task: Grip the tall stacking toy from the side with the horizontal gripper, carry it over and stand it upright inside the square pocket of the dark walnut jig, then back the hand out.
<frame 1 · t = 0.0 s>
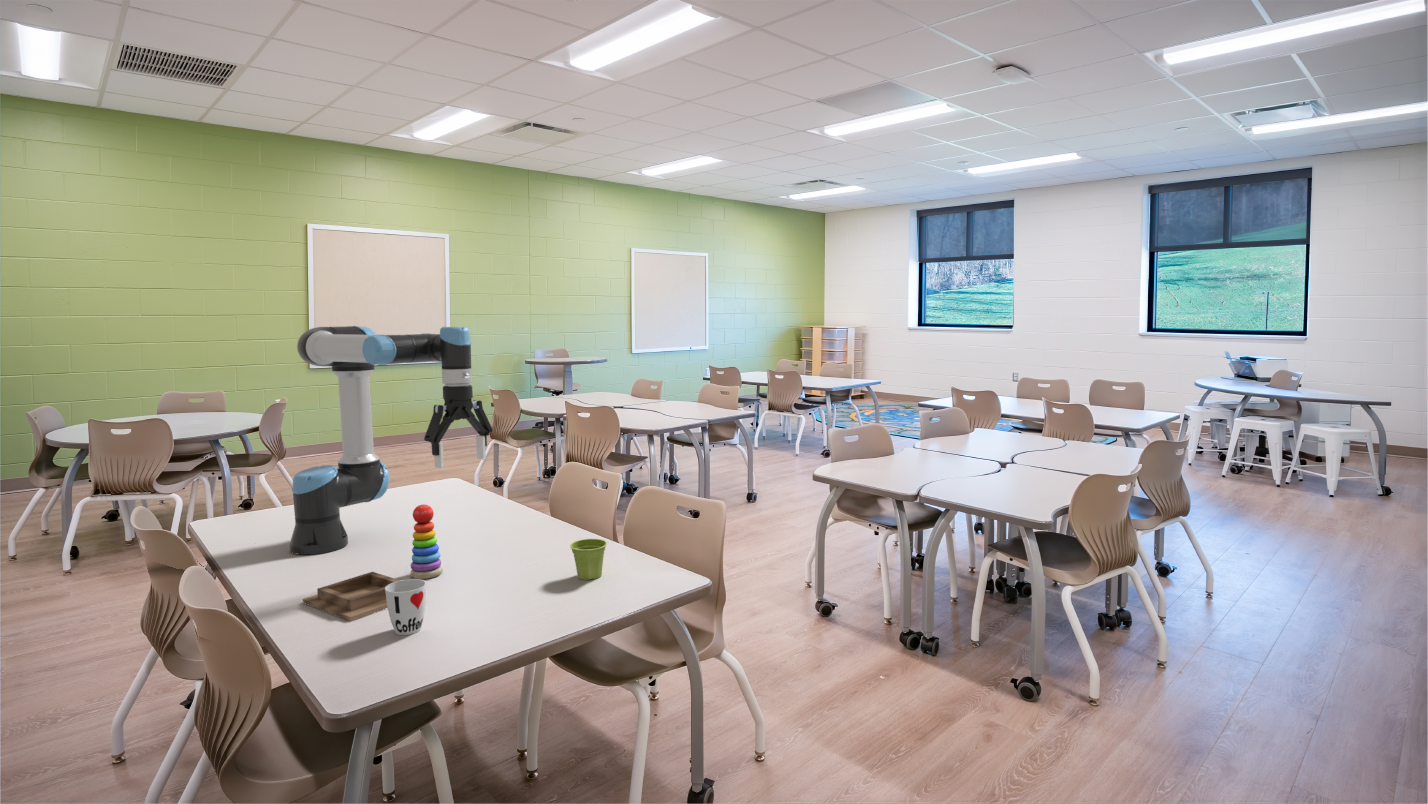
hand: (461, 463, 200), 28 cm above the table, tool pointing down, fingers open, 13 cm apart
stacking toy: (427, 575, 194), on the table
cup: (408, 631, 160), on the table
plant pot: (589, 577, 192), on the table
walnut jig: (363, 599, 177), on the table
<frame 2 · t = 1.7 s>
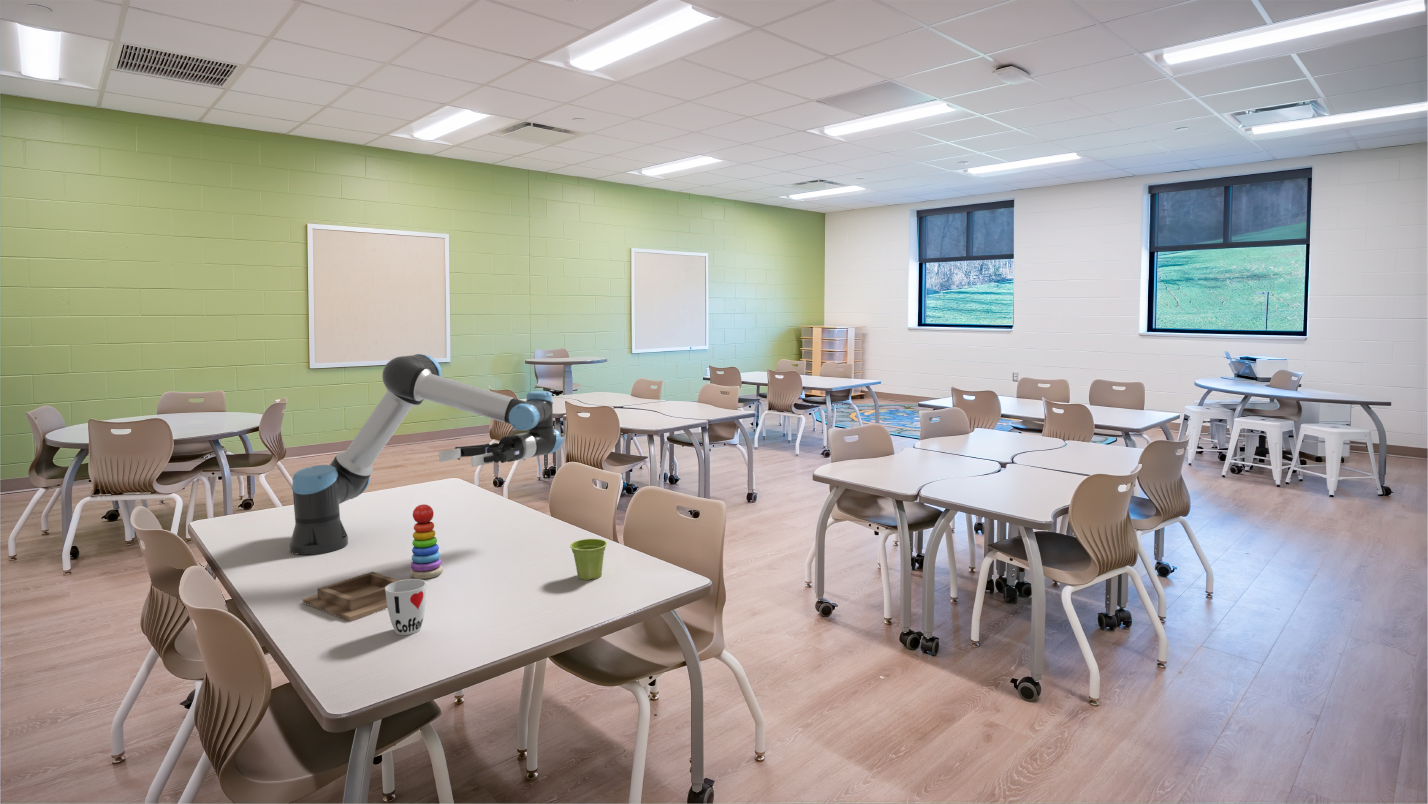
hand: (455, 459, 200), 29 cm above the table, tool horizontal, fingers open, 13 cm apart
nothing on the table moved.
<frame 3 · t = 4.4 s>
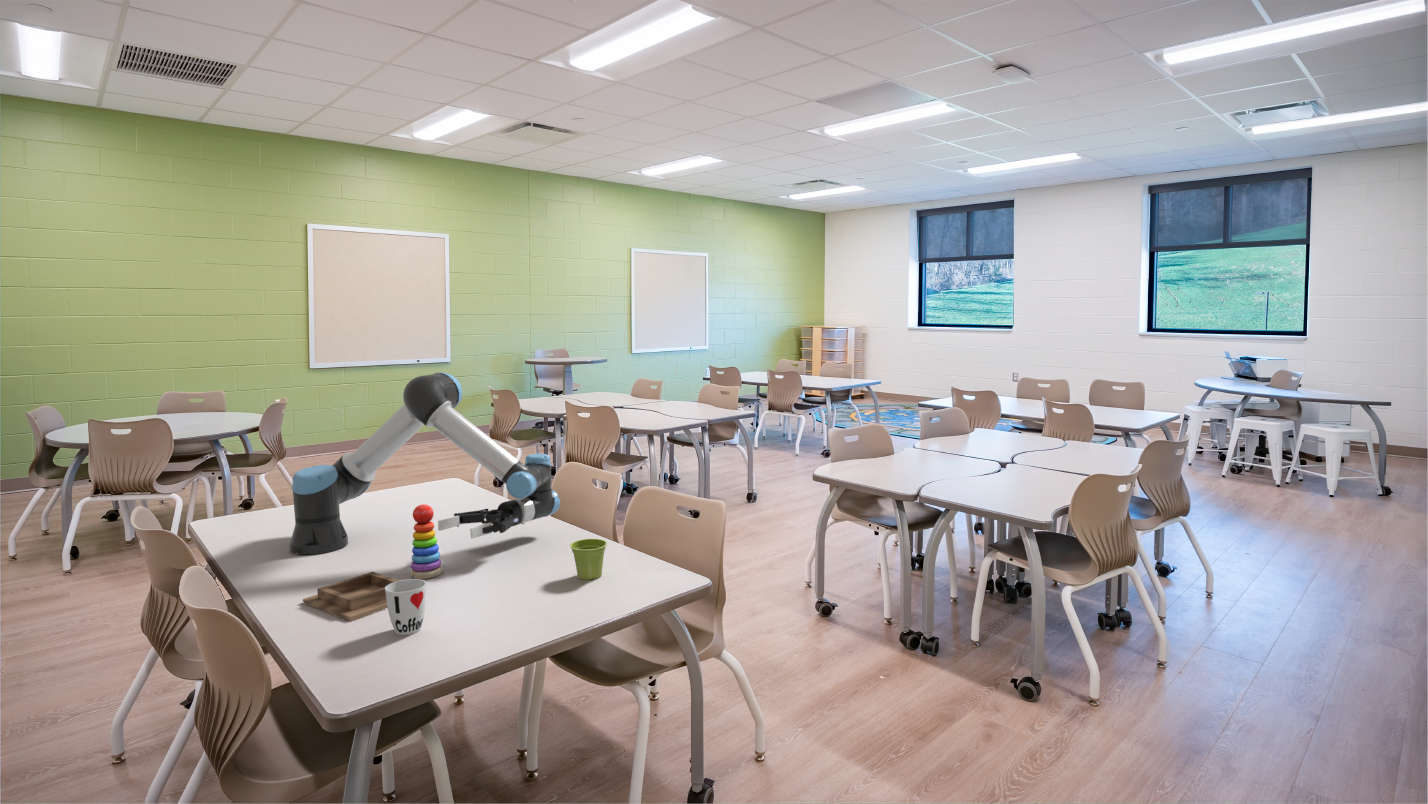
hand: (454, 529, 201), 10 cm above the table, tool horizontal, fingers open, 13 cm apart
nothing on the table moved.
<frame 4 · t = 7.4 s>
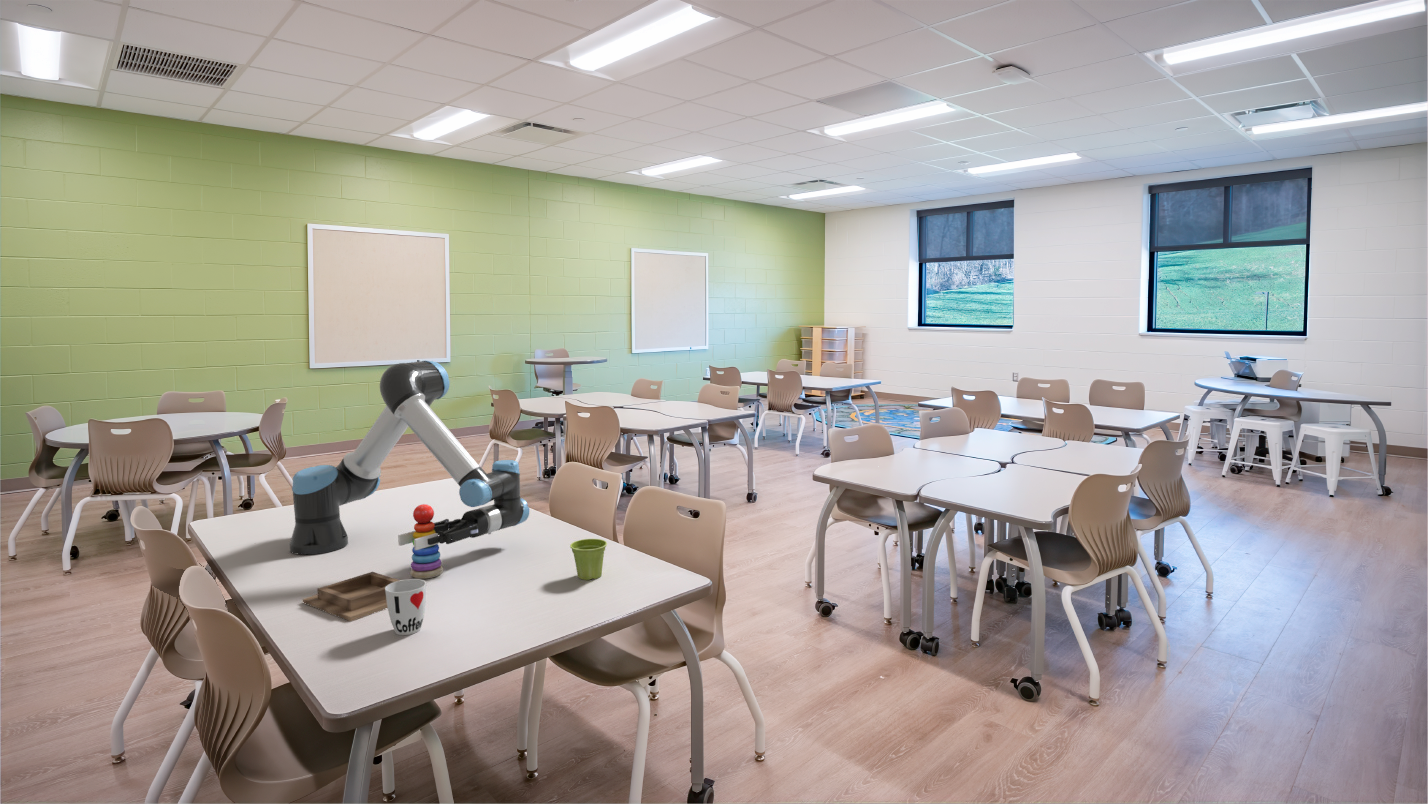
hand: (407, 542, 189), 10 cm above the table, tool horizontal, fingers closed on stacking toy, 6 cm apart
stacking toy: (427, 575, 194), on the table, touching gripper
everything else where it was.
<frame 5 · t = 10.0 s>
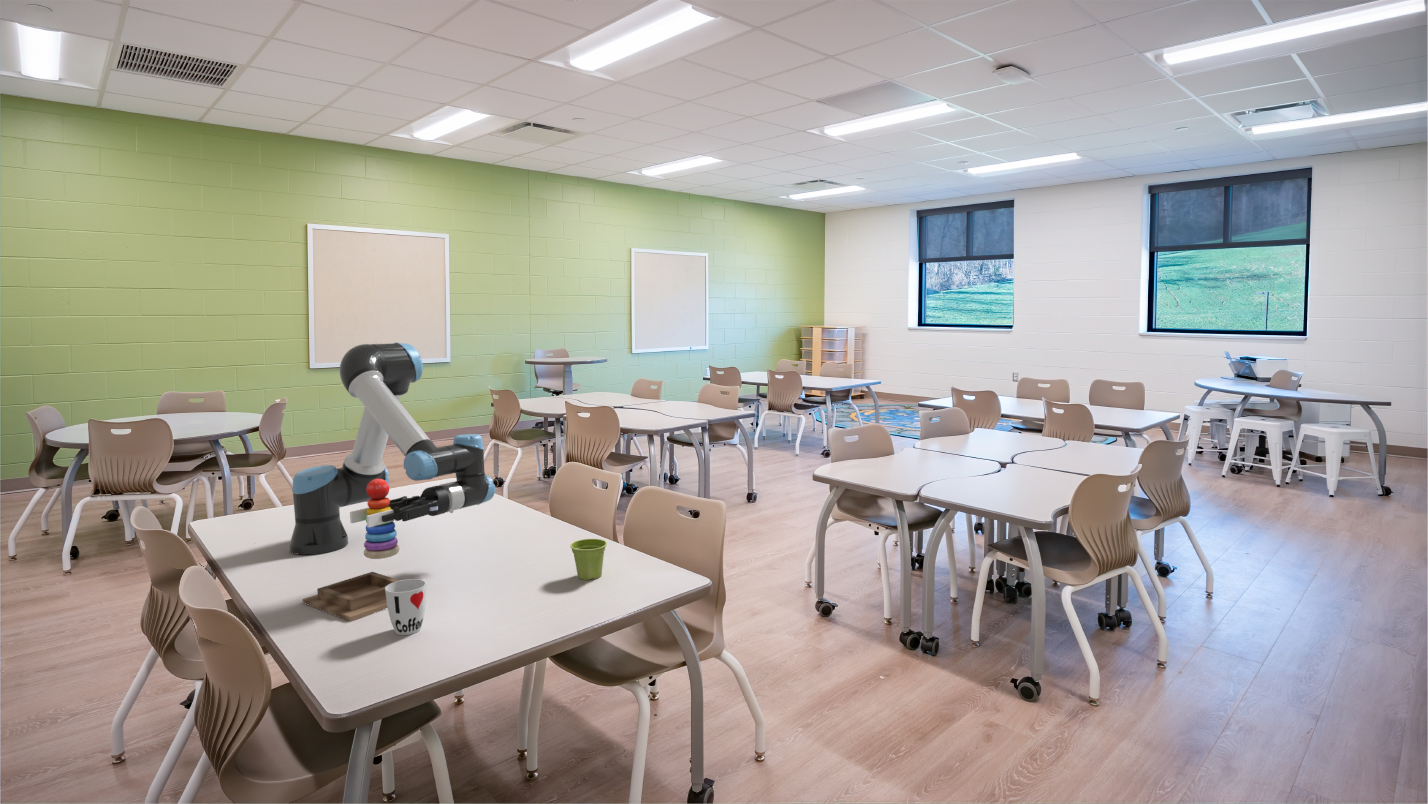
hand: (359, 519, 175), 20 cm above the table, tool horizontal, fingers closed on stacking toy, 6 cm apart
stacking toy: (382, 555, 180), point 10 cm above the table, touching gripper
everything else where it was.
when the fingers open (12 cm above the table, at t = 12.6 s): stacking toy drops 1 cm, resting on walnut jig.
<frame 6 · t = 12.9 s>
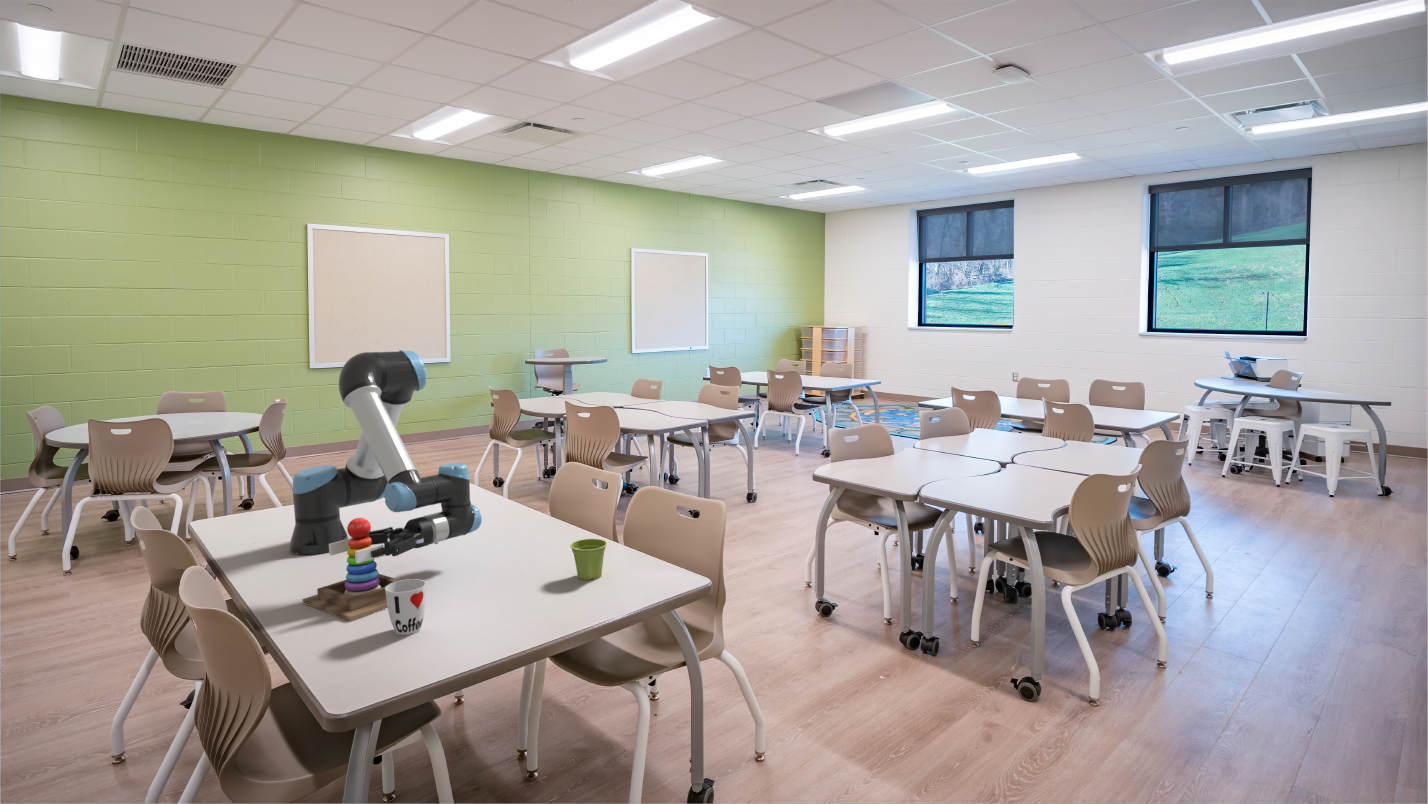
hand: (342, 553, 172), 12 cm above the table, tool horizontal, fingers open, 10 cm apart
stacking toy: (363, 595, 177), point 1 cm above the table, touching walnut jig
everything else where it was.
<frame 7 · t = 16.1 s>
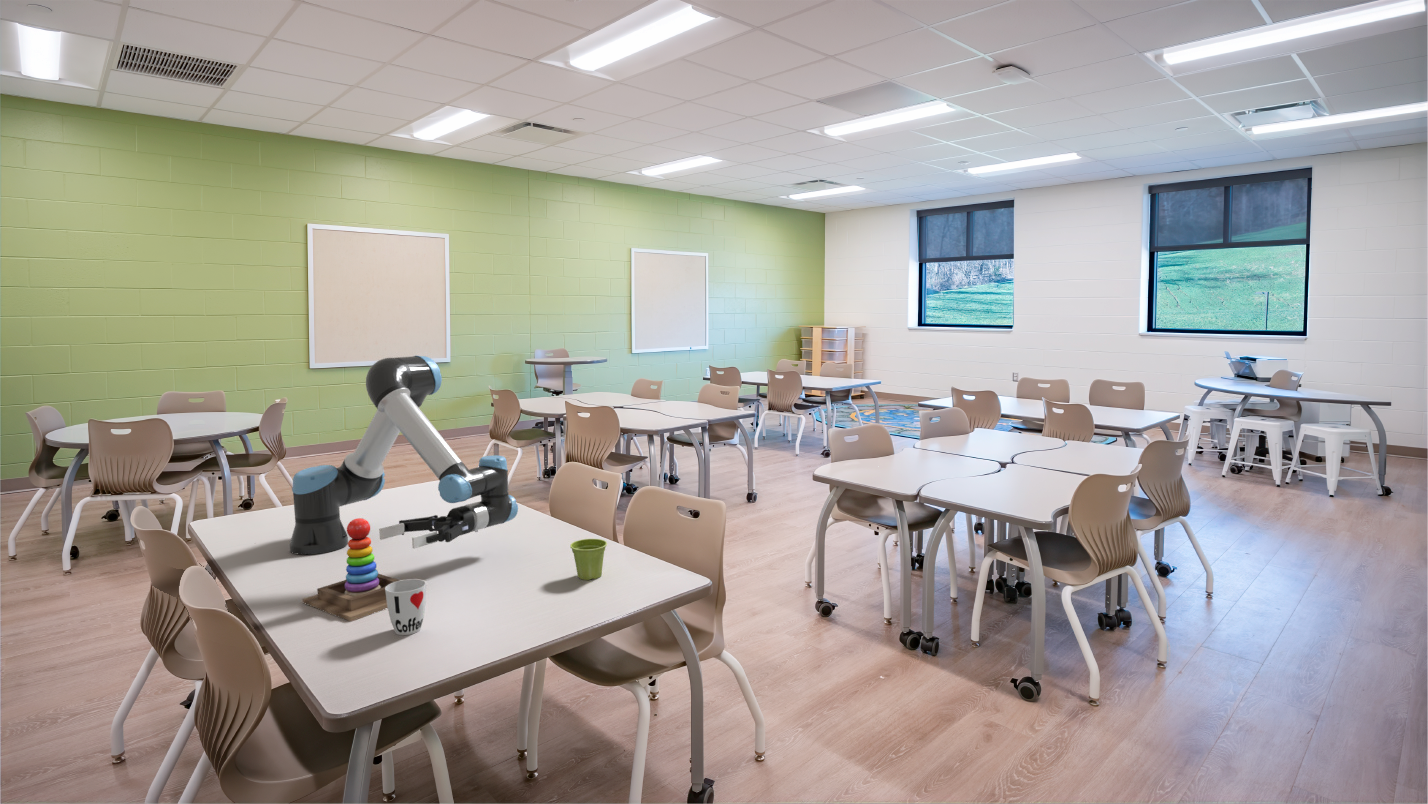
hand: (396, 538, 184), 13 cm above the table, tool horizontal, fingers open, 13 cm apart
nothing on the table moved.
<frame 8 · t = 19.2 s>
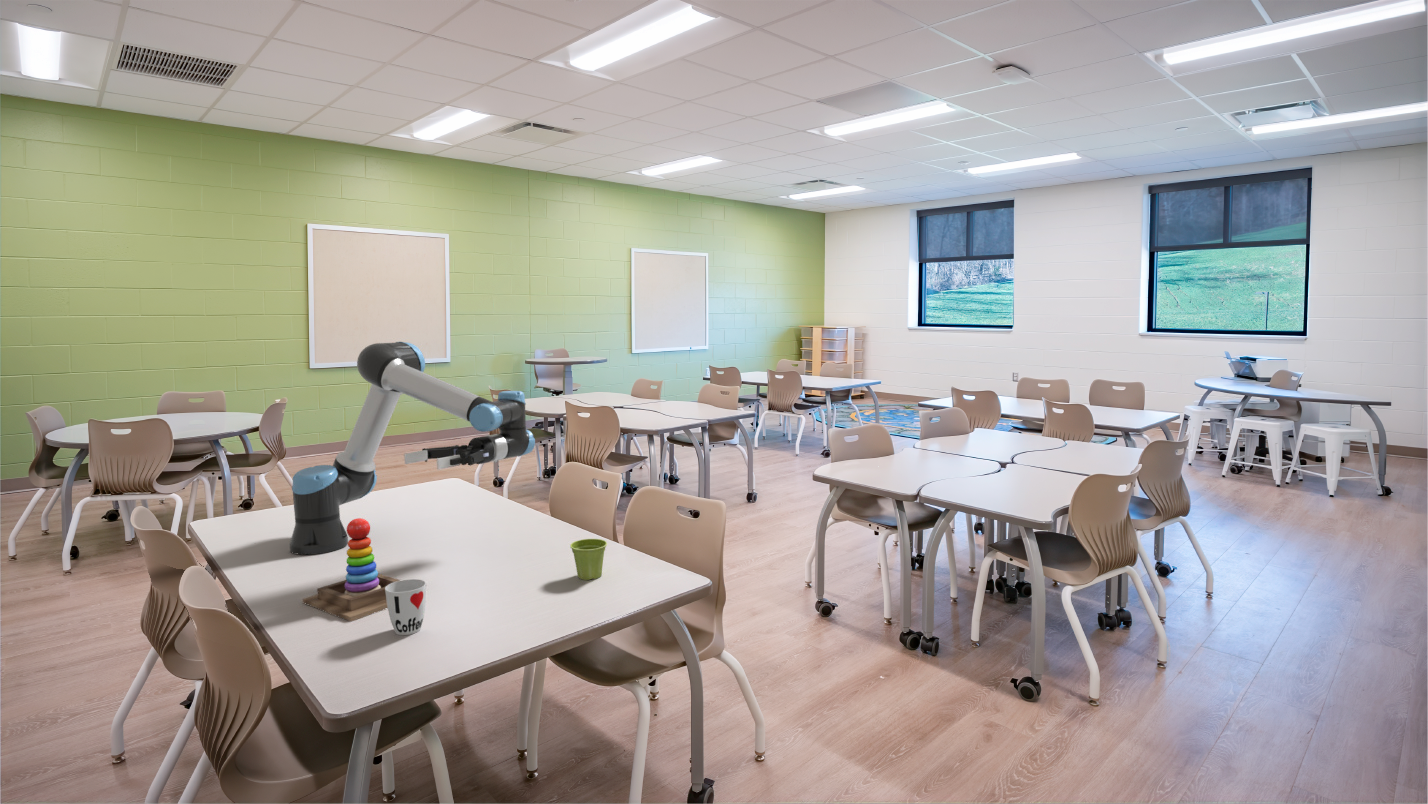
hand: (421, 461, 192), 30 cm above the table, tool horizontal, fingers open, 13 cm apart
nothing on the table moved.
at the end: stacking toy 0.1 cm off-centre on the walnut jig, point 0.8 cm above the walnut jig's base; stacking toy tilted 0°; the gripper is holding nothing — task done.
